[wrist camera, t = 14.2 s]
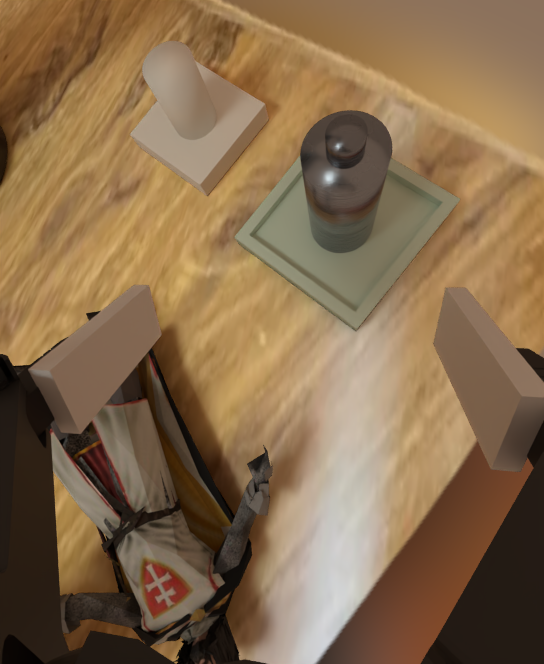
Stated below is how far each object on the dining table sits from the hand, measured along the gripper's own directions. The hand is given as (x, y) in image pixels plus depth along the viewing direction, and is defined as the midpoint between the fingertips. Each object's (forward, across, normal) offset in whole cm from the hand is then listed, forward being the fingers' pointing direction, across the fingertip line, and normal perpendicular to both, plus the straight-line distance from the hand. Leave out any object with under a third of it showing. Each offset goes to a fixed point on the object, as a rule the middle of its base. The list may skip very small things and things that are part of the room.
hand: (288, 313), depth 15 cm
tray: (+19, +3, -1) cm, 19 cm away
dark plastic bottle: (+19, +3, 0) cm, 19 cm away
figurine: (+4, -13, -20) cm, 25 cm away
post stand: (+26, -12, +7) cm, 29 cm away
